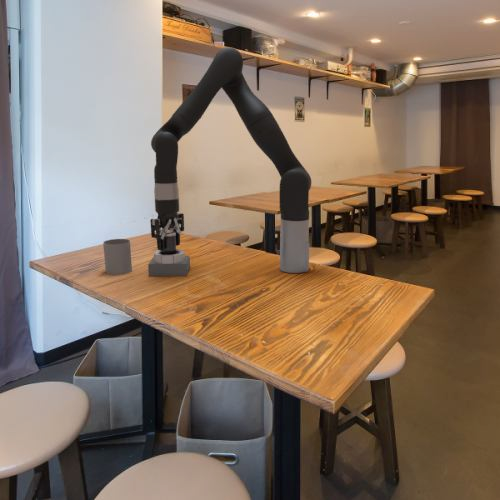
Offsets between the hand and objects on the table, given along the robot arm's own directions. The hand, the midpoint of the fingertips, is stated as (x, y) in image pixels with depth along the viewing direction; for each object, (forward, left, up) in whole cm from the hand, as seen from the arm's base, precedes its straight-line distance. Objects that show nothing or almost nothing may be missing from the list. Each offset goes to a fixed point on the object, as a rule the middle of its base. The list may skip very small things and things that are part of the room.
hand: (169, 247), depth 140 cm
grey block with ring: (0, 0, -8) cm, 8 cm away
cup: (+17, -1, -8) cm, 19 cm away
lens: (0, 0, -4) cm, 4 cm away
